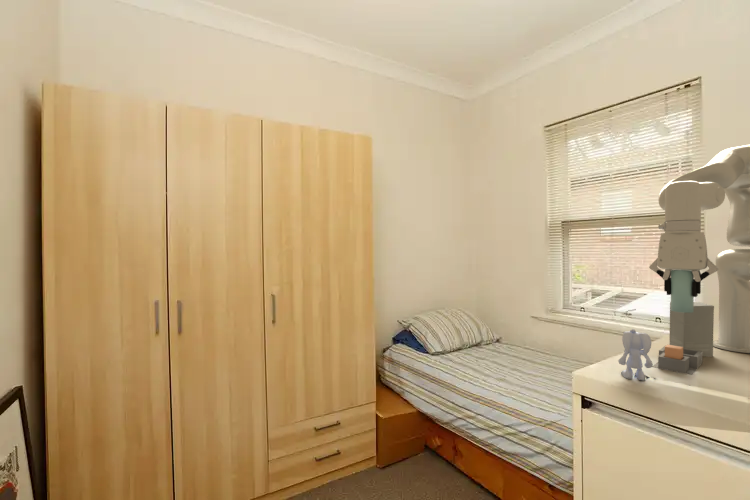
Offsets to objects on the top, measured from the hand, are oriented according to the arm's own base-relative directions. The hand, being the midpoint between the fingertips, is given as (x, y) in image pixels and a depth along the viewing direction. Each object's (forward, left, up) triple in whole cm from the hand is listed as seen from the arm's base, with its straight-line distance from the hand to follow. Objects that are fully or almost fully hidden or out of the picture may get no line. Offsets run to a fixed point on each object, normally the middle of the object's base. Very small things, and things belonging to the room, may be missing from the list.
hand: (682, 294), depth 102 cm
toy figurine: (+17, +15, -19) cm, 30 cm away
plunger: (+5, +7, -18) cm, 20 cm away
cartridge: (0, 0, -4) cm, 4 cm away
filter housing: (+3, +4, -19) cm, 20 cm away
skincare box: (-7, -11, -19) cm, 23 cm away
